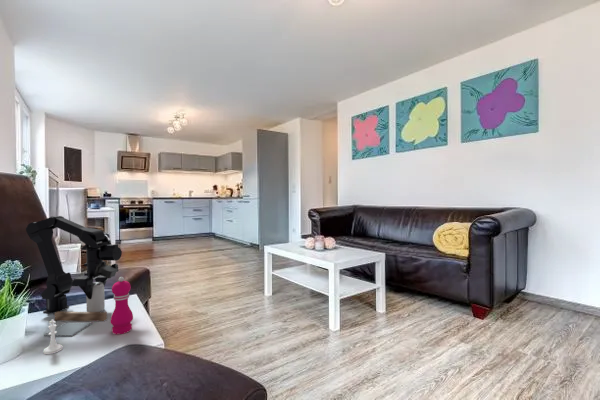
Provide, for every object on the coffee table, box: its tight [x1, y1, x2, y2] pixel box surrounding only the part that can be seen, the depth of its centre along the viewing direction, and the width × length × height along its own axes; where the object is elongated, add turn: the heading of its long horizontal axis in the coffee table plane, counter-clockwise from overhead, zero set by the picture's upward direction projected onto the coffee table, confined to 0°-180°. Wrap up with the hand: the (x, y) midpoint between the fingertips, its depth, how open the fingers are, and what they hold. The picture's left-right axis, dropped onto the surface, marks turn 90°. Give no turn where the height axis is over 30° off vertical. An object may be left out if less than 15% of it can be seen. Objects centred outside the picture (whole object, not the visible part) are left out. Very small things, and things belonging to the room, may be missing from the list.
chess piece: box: [42, 318, 64, 355], centre depth 98 cm, size 5×5×10 cm
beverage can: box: [85, 281, 106, 312], centre depth 129 cm, size 6×6×12 cm
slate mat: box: [43, 321, 93, 338], centre depth 112 cm, size 10×10×1 cm
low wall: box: [54, 311, 108, 322], centre depth 120 cm, size 20×2×3 cm, turn 89°
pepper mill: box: [110, 276, 134, 335], centre depth 111 cm, size 7×7×20 cm
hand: (95, 296), depth 129 cm, fingers closed on beverage can, 6 cm apart
